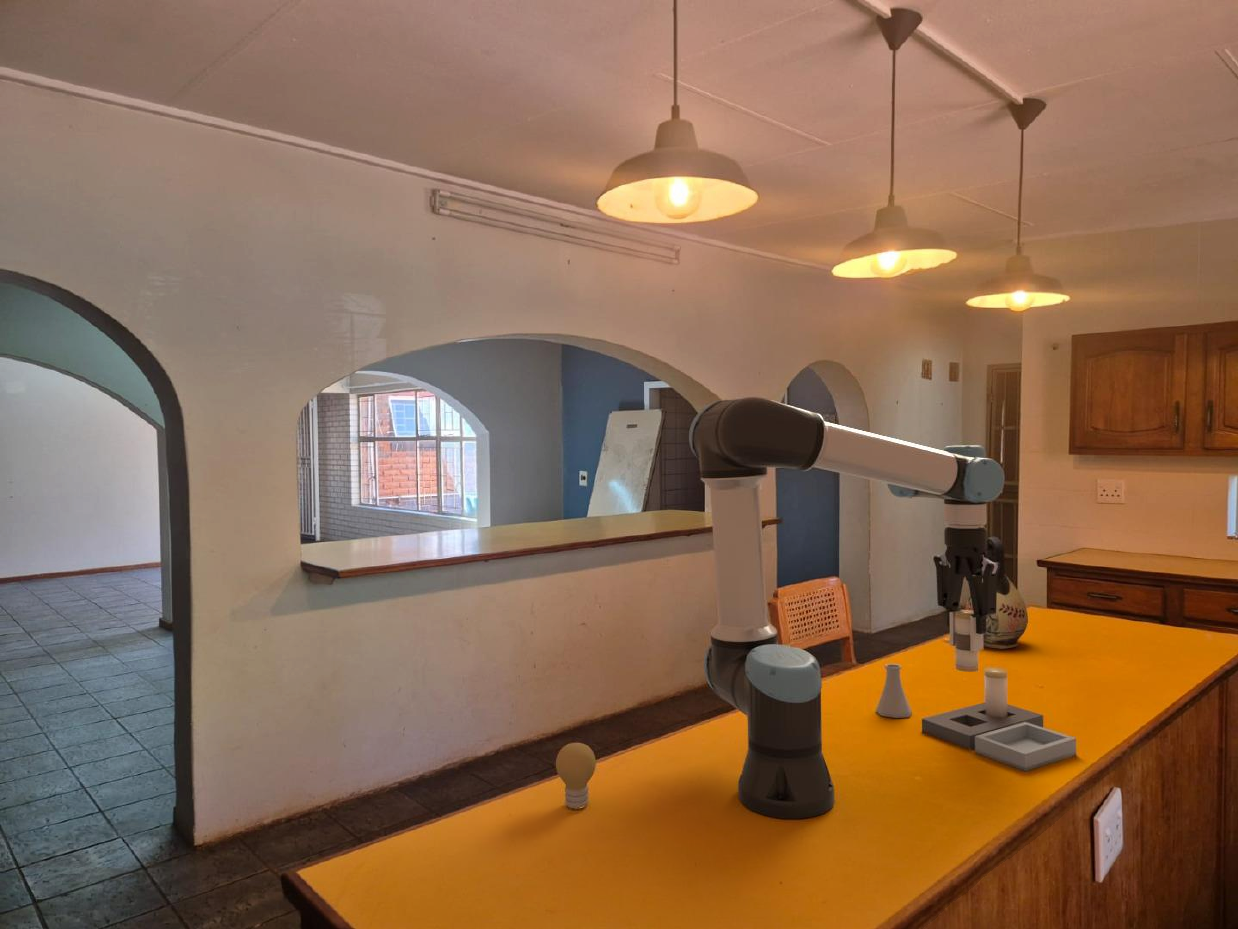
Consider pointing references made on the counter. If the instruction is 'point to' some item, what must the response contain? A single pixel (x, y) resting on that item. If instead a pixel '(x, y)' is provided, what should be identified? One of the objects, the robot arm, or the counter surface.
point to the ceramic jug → (1003, 605)
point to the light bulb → (576, 772)
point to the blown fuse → (964, 643)
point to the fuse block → (974, 723)
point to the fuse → (996, 692)
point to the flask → (893, 695)
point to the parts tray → (1025, 746)
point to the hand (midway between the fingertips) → (966, 647)
